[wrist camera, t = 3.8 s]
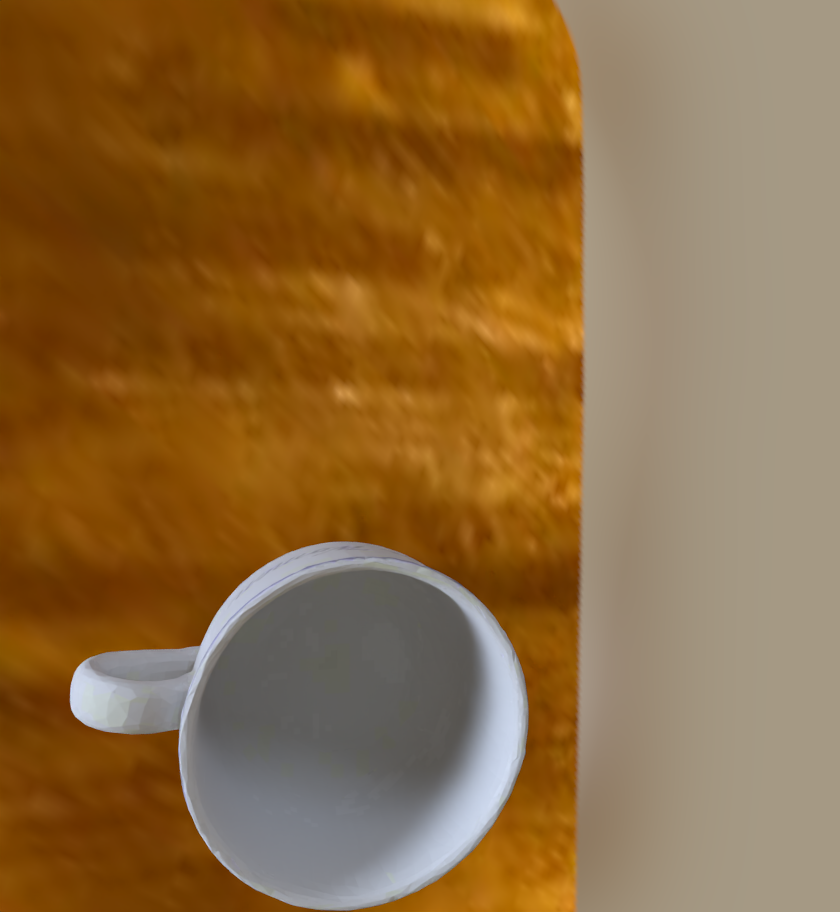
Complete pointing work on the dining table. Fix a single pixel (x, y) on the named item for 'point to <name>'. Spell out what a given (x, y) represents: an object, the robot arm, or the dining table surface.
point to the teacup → (332, 724)
